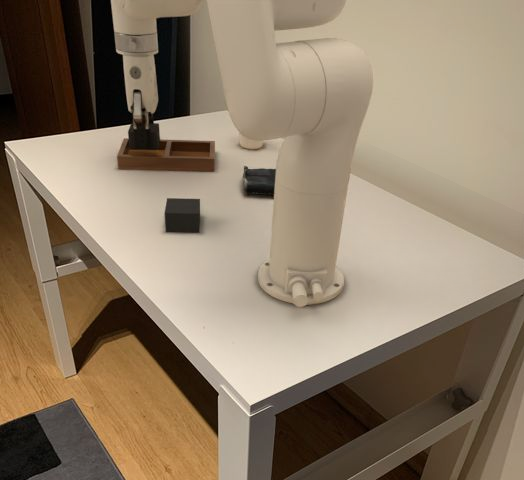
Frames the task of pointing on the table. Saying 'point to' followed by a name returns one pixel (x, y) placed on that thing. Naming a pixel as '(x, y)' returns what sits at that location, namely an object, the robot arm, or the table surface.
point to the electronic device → (259, 181)
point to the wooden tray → (169, 156)
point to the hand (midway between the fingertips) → (145, 142)
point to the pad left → (154, 136)
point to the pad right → (182, 215)
